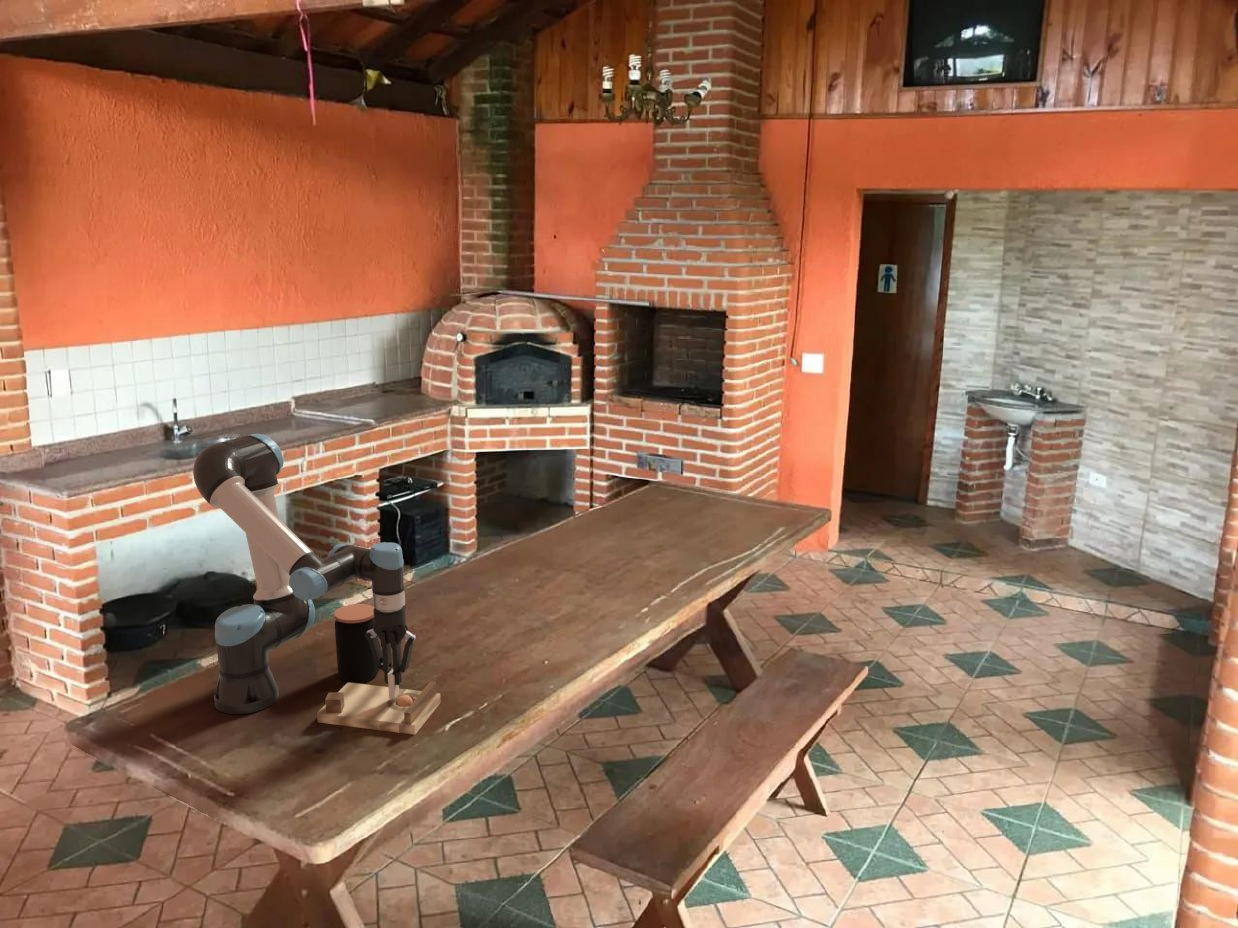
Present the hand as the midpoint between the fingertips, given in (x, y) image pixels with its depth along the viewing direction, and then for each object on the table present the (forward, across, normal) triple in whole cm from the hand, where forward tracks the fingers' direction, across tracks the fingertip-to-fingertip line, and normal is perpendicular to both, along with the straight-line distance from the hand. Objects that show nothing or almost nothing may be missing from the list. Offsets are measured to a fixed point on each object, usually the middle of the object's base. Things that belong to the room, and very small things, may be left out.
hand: (394, 695), depth 249 cm
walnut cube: (+1, -12, -8) cm, 14 cm away
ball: (+2, +3, 0) cm, 3 cm away
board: (+4, -3, -2) cm, 5 cm away
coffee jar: (+4, -17, +15) cm, 23 cm away
